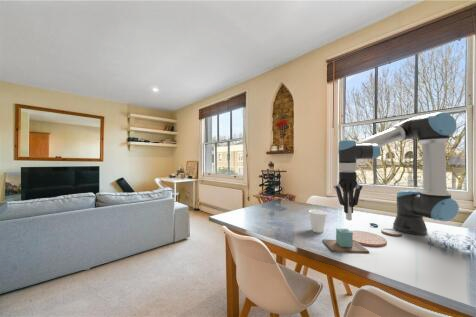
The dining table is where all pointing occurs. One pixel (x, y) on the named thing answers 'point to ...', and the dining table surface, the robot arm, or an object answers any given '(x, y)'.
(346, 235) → the teal block
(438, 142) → the robot arm
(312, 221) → the cup
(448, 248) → the dining table surface
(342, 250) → the dark wooden tray
